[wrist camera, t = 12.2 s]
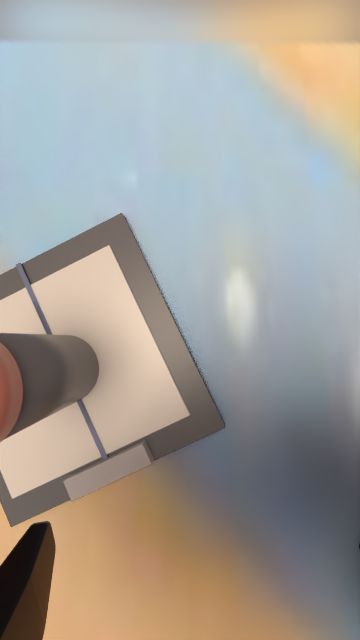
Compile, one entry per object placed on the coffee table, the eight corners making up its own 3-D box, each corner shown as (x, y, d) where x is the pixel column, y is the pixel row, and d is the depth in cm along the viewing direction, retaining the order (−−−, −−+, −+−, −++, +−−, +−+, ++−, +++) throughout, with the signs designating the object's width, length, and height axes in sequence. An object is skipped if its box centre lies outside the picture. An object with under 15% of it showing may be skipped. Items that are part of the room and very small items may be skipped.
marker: (112, 386, 19) (17, 439, 9) (48, 417, 19) (-118, 504, 9) (82, 321, 19) (-42, 301, 9) (19, 352, 19) (-172, 366, 9)
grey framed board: (224, 424, 19) (226, 431, 18) (16, 521, 20) (2, 535, 18) (124, 216, 20) (118, 207, 19) (-70, 315, 21) (-90, 313, 19)
